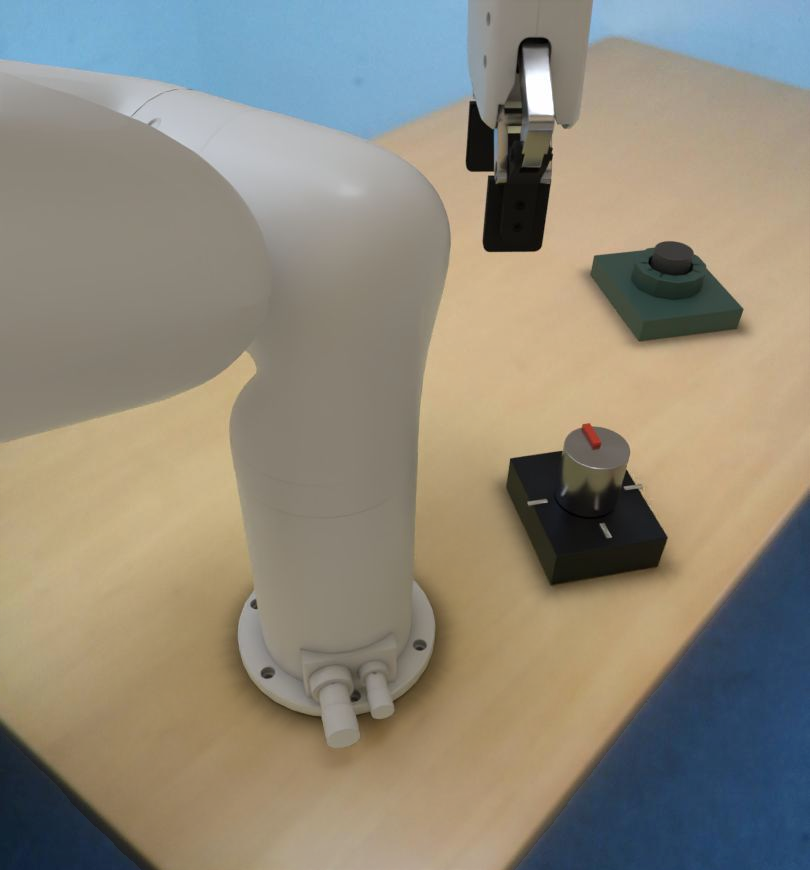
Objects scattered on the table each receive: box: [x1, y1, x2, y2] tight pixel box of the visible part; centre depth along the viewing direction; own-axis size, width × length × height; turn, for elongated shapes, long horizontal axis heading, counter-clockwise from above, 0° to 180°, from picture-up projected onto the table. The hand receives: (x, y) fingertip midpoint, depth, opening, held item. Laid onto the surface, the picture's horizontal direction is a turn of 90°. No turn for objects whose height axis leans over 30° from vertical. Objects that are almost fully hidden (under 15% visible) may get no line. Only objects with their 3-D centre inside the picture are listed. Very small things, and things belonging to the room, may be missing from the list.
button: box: [651, 240, 695, 276], centre depth 82 cm, size 4×4×2 cm
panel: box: [505, 450, 669, 586], centre depth 63 cm, size 10×9×3 cm
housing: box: [590, 246, 744, 342], centre depth 83 cm, size 12×10×4 cm
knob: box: [555, 422, 631, 517], centre depth 60 cm, size 4×4×5 cm
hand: (500, 206), depth 51 cm, fingers open, 9 cm apart
